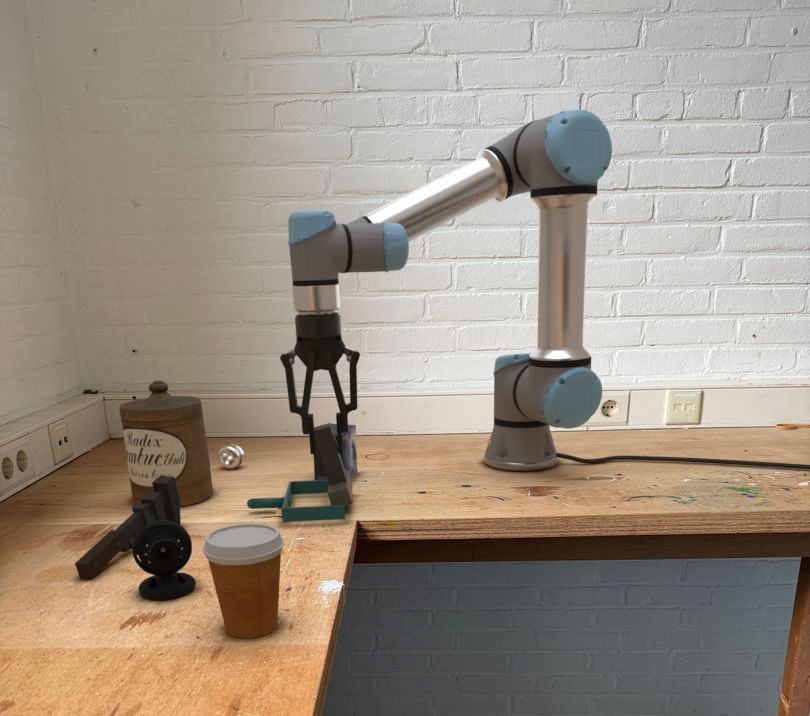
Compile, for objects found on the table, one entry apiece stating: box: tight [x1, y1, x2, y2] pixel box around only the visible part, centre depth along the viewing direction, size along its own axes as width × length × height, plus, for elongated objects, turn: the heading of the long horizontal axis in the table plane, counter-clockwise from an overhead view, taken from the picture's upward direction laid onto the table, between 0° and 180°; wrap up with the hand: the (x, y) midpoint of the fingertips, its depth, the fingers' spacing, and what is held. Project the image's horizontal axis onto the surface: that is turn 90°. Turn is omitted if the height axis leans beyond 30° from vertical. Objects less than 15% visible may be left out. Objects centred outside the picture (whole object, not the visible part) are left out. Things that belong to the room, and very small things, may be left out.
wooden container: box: [118, 380, 214, 507], centre depth 149 cm, size 15×15×22 cm
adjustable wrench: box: [74, 476, 182, 580], centre depth 125 cm, size 8×3×25 cm
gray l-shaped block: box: [313, 422, 353, 507], centre depth 140 cm, size 4×12×13 cm, turn 4°
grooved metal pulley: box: [217, 443, 245, 470], centre depth 172 cm, size 5×3×5 cm, turn 71°
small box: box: [312, 423, 358, 480], centre depth 159 cm, size 11×6×10 cm, turn 168°
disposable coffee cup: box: [201, 522, 285, 639], centre depth 96 cm, size 10×10×12 cm
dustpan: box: [246, 479, 346, 523], centre depth 142 cm, size 17×17×3 cm
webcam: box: [131, 520, 197, 601], centre depth 108 cm, size 8×8×10 cm
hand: (326, 451), depth 139 cm, fingers open, 4 cm apart
